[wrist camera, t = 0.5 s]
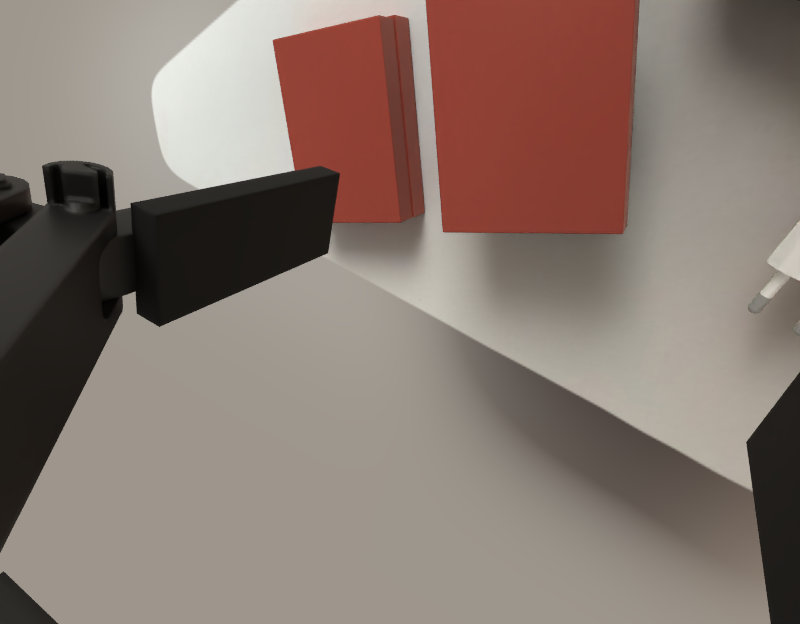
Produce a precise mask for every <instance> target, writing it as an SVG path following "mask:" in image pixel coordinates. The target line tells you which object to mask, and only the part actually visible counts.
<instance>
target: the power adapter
mask: <svg viewBox="0 0 800 624" xmlns="http://www.w3.org/2000/svg"><path fill="white" fill-rule="evenodd" d="M766 262H767V263H768V264H770V265H771V266H772V267H774V268H775V269H776V270H778V271H777V272H776V273H775V274H774V276H773V277H772V279H771V280H770V281H769V283H768V284H767V285H766V286H765V287H764V288H763V290H762V291H761V292H759V293H758V295H757V296H756V297H755V298H754V299H753V300H752V302H751V303H750V304H749V305H748V310H749V311H750V312H751V313H754V314H758V313H760V312H761V311H762V310H763V308H764V307H765V306H766V305H767V304H768V303H769V302H770V300H771V299H772V297H773V296H774V295H775V294H776V293H777V291H778V290H779V289H780V288H781V287H782V286H783V285H784V284H785V283H786V282H787V281H788V280H789V279H790V278H791V277H792V278H794V279H796V280H799V281H800V220H799V221H798V223H797V224H796V225H795V226H794V228H793V229H792V230H791V231H790V232H789V234H788V235H787V236H786V237H785V238H784V240H783V241H782V242H781V243H780V245H779V246H778V247H777V248H776V249H775V251H774V252H773V253H772V254H771V255H770V257H769V258H768V260H767V261H766ZM793 333H794V334H796V335H797V336H800V321H799V322H798V323H797V324H796V325H795V326H794V327H793Z"/></svg>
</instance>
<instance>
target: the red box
mask: <svg viewBox="0 0 800 624" xmlns="http://www.w3.org/2000/svg"><path fill="white" fill-rule="evenodd" d="M273 45H274V51H275V57H276V63H277V69H278V74H279V80H280V86H281V92H282V98H283V104H284V110H285V115H286V121H287V127H288V133H289V139H290V145H291V151H292V156H293V162H294V168H295V171H296V170H301V169H306V168H311V167H316V166H323V167H325V168H328V169H330V170H333V171H336V172H338V173H340V178H339V185H338V191H337V198H336V204H335V211H334V217H333V223H401V222H403V221H405V220H407V219H410V218H412V217H415V216H418V215H420V214H422V213H424V212H425V209H424V197H423V185H422V174H421V162H420V150H419V138H418V127H417V115H416V103H415V92H414V80H413V68H412V57H411V45H410V33H409V22H408V18H405V17H401V16H397V15H393V16H388V17H384V16H380V15H378V16H374V17H369V18H365V19H361V20H357V21H352V22H348V23H344V24H339V25H335V26H331V27H326V28H322V29H318V30H313V31H309V32H305V33H300V34H296V35H292V36H288V37H283V38H279V39H275V40H273Z"/></svg>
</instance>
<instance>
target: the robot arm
mask: <svg viewBox="0 0 800 624" xmlns="http://www.w3.org/2000/svg"><path fill="white" fill-rule="evenodd" d="M42 168H43V175H44V182H45V189H46V196H47V202H48V203H47V204H46V205H45V206H42V205H38V204H35V203H32V201H31V194H30V188H29V183H28V182H26V181H25V180H23V179H20V178H17V177H13V176H6V175H5V174H1V173H0V552H1V550H2V548H3V546H4V544H5V542H6V540H7V538H8V536H9V534H10V532H11V530H12V528H13V526H14V524H15V522H16V520H17V518H18V517H19V515H20V512H21V511H22V508H23V507H24V505H25V503H26V501H27V499H28V497H29V495H30V493H31V491H32V489H33V487H34V485H35V483H36V481H37V479H38V477H39V475H40V473H41V471H42V469H43V467H44V465H45V463H46V461H47V459H48V457H49V455H50V453H51V451H52V449H53V447H54V445H55V443H56V441H57V439H58V437H59V435H60V433H61V431H62V429H63V427H64V425H65V423H66V421H67V419H68V417H69V415H70V413H71V411H72V409H73V407H74V406H75V404H76V402H77V400H78V397H79V396H80V394H81V392H82V390H83V388H84V386H85V384H86V382H87V380H88V378H89V376H90V374H91V372H92V370H93V368H94V366H95V364H96V362H97V360H98V358H99V356H100V354H101V352H102V350H103V348H104V346H105V344H106V342H107V340H108V338H109V336H110V334H111V332H112V330H113V328H114V326H115V324H116V322H117V320H118V318H119V316H120V314H121V313H122V309H123V301H122V296H123V295H126V294H129V293H132V292H135V291H136V306H137V314H139V315H140V316H142V317H144V318H145V319H147V320H149V321H150V322H152V323H154V324H156V325H157V326H159V327H160V326H162V325H165V324H167V323H169V322H171V321H174V320H176V319H178V318H181V317H183V316H185V315H187V314H190V313H192V312H194V311H197V310H199V309H201V308H203V307H206V306H208V305H210V304H213V303H215V302H217V301H219V300H221V299H224V298H226V297H229V296H231V295H233V294H235V293H238V292H240V291H242V290H244V289H247V288H249V287H251V286H254V285H256V284H258V283H261V282H263V281H265V280H267V279H270V278H272V277H274V276H276V275H279V274H281V273H283V272H286V271H288V270H290V269H292V268H295V267H297V266H299V265H302V264H304V263H306V262H308V261H311V260H313V259H315V258H318V257H320V256H322V255H325V254H327V253H328V250H329V243H330V237H331V230H332V224H333V217H334V211H335V204H336V198H337V191H338V185H339V178H340V173H338V172H336V171H333V170H330V169H328V168H325V167H323V166H316V167H311V168H306V169H301V170H296V171H291V172H286V173H281V174H276V175H271V176H266V177H261V178H256V179H251V180H246V181H241V182H236V183H231V184H225V185H220V186H215V187H210V188H205V189H200V190H195V191H191V192H185V193H180V194H175V195H170V196H165V197H160V198H155V199H150V200H145V201H140V202H134V203H131V208H128V209H122V210H118V211H116V205H115V191H114V178H113V171H112V170H111V169H109V168H108V167H105V166H103V165H100V164H96V163H90V162H83V161H58V162H52V163H48V164H45V165H43V166H42ZM746 443H747V450H748V458H749V465H750V473H751V480H752V488H753V495H754V502H755V510H756V517H757V525H758V531H759V539H760V547H761V554H762V562H763V569H764V576H765V584H766V591H767V598H768V606H769V613H770V621H771V624H800V373H799V374H798V375H797V376H796V378H795V379H794V380H793V382H792V383H791V384H790V386H789V387H788V388H787V390H786V391H785V392H784V393H783V395H782V396H781V397H780V399H779V400H778V401H777V403H776V404H775V405H774V407H773V408H772V409H771V411H770V412H769V413H768V414H767V416H766V417H765V418H764V420H763V421H762V422H761V424H760V425H759V426H758V428H757V429H756V430H755V431H754V433H753V434H752V435H751V437H750V438H749V439H748V441H747V442H746ZM0 624H58V623H57V622H56V621H55V620H54V619H53V618H52V617H51V616H50V615H49V614H47V613H46V612H45V611H44V610H43V609H42V608H41V607H40V606H39V605H38V604H37V603H36V602H35V601H34V600H33V599H32V598H31V597H30V596H29V595H28V594H27V593H25V591H24V590H22V589H21V588H20V587H19V586H18V585H17V584H16V583H15V582H14V581H13V580H12V579H11V578H10V577H9V576H8V575H7V574H6V573H5V572H2V573H1V574H0Z"/></svg>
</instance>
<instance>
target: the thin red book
mask: <svg viewBox="0 0 800 624" xmlns="http://www.w3.org/2000/svg"><path fill="white" fill-rule="evenodd" d="M639 3H640V0H426V9H427V23H428V36H429V50H430V63H431V77H432V91H433V104H434V118H435V131H436V145H437V158H438V172H439V185H440V199H441V212H442V226H443V232H463V233H566V234H623V232H624V230H625V229H626V227H627V219H628V201H629V183H630V165H631V147H632V129H633V111H634V93H635V75H636V57H637V39H638V21H639Z"/></svg>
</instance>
